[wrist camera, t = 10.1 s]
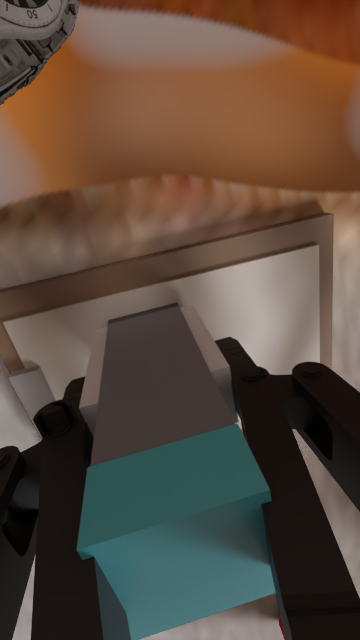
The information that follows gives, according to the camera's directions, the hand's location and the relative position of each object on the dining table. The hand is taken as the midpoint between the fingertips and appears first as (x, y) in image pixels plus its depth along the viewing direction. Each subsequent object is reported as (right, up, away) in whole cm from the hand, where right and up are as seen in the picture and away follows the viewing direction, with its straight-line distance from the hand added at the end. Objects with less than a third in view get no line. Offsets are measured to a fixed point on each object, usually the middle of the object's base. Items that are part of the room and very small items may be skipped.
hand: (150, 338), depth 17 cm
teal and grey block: (0, 0, +1) cm, 1 cm away
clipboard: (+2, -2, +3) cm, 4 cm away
